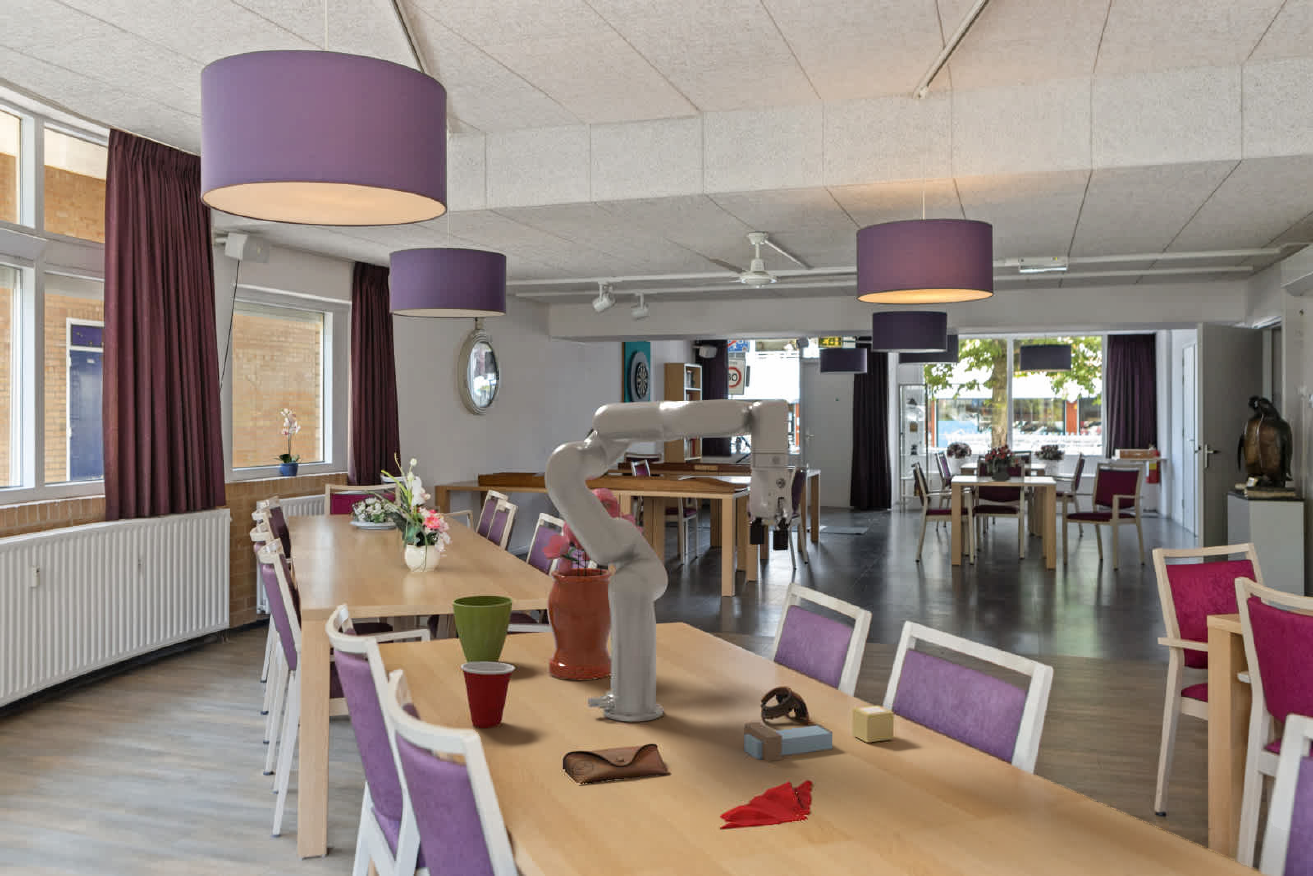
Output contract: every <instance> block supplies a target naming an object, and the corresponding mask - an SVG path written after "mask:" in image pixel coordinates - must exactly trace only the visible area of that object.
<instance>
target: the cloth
mask: <svg viewBox="0 0 1313 876" xmlns="http://www.w3.org/2000/svg"><path fill="white" fill-rule="evenodd" d="M812 786H813V781H811V780H806V781H804V782H803V783H801V784H800V785H798V786H796V787H794V788H793V785H792V782H791V781H790V780H789V781H787V782H785V783H782V784H780V785H777V786H774V787H771V788H769V789H767V790H766V791H764V792H763V794H762V795H756V796H754V797H753V798H752V799H751V800H749V801H748V803H746V804H743V805H741V804H740V805H738V806H737V805H736V806H735V807H733V808H731V809H729V810H727V811H725V812H724V813H721V814H720V816H719V818H720V819H722V820H723V819H724V820H725V821H724V820H723V821H724V822H725V823H726V824H724V825H722V826H721V827H719V829H721V830H726V829H739V828H751V827H754V828H755V827H764V826H775V825H774V824H778V825H782V824H788V822H790V823H795V822H794V821H799V820H800V821H799V822H802V821H801V820H804V821H806V820H805V819H807V820H808V817H807V816H804V815H808V816H810V814H811V811H809V810H810V807H811V806H812V800H811V799H813V798H812V793H811V792H812ZM796 792H797V793H796ZM810 793H811V794H810ZM809 813H810V814H809ZM797 815H798V816H797ZM792 821H793V822H792ZM786 822H787V823H786Z"/></svg>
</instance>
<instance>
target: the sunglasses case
mask: <svg viewBox="0 0 1313 876" xmlns="http://www.w3.org/2000/svg"><path fill="white" fill-rule="evenodd" d="M658 749H659V748H658V745H657V744H656V743H646V744H642V745H636V746H623V747H622V746H621V747H613V748H612V747H611V748H604V749H594V750H574V751H569V752H567V753H566V754H565V755H564V757H562V758H563V759H562V770H563V769H565V772H566V773H567V774H568V775H569V776H570V777H571V778H572V779H573V780H574V781H575V782H576V783H580V784H583V783H584V784H585V783H591V784H595V783H594V782H598V783H602V782H601V781H605V782H608V781H607V780H613V781H616V780H615V779H621V780H625V779H624V778H630V779H637V778H638V777H639V778H645V777H657V776H656V775H659V776H667V775H671V774H672V773H671V772H669V771H668V769H667V766H666V764H665V763H664V761H663V759H662V756H661V753H660V751H659V750H658ZM565 772H564V773H565Z"/></svg>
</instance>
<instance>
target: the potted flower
mask: <svg viewBox="0 0 1313 876" xmlns="http://www.w3.org/2000/svg"><path fill="white" fill-rule="evenodd" d="M591 491H592V492H593V493H594V494H595V495H596V496H597V498H598V499H599V500H600V502H601V503H602V505H603V507H604V508H605V509H606V511H607V512H608V513H609V515H610V516H611V517H612V518H623V519H626V520H628V521H629V522H631V523H632V524H633V525H634V526H636V527H637V529H638V530H639V531H640V532H641V534H642V535H643V532H644V528H643V527H642V526H638V525H637V524H636V519H635V517H634V515H632V514H629V513H628V514H624V511H621V507H620V504H619V500H618V499H617V497H616V496H614V494H613V491H612V490H610V489H609V488H606V487H601V488H594V489H593V490H591ZM562 533H563V535H562V534H553V535H551V536H550V538H549V540H548V541H549V543H548V545H546V546H544V547H543V549H542V551H543V552H542V553H543V555H544V556H546V560H558V559H561V561H560V563H559V566H558V569H555V570H552V571H551V572H550V576H551V578H552V579H553V583H552V586H551V588H550V591H549V592H548V593H549V594H548V598H547V604H546V605H547V606H546V607H547V619H548V622H549V623H548V624H549V626H550V627H549V628H550V629H551V632H552V633H551V634H552V636H553V641H554V650H553V653H552V656H551V657H549V659H548V674H549V675H550V674H551V675H552V676H551V675H550V676H551V677H553V676H554V677H553V678H557V679H560V678H565V679H564V680H566V679H576V680H575V681H579V680H578V679H594V678H600V679H603V678H602V677H604V678H606V677H605V676H607V675H609V674H611V654H610V652H609V650H608V641H609V636H610V635H611V617H610V607H609V599H608V586H609V582H610V579H611V577H612V576H613V572H612V571H611V570H609V569H603V568H602V567H603V566H602V565H599V567H600V568H594V567H587V563H588V562H590V561H592V560H591V559H590V558H589V556H588V555H587V553H586V552H585V550H584V549H583V547H582V546H581V544H580V543H579V541H578V540H577V538H576V537H575V535H574V534H573V532H572V531H571V529H570V528H569V526H568V524H567V523H566V521H565V520H564V523H563V525H562ZM570 542H571V543H574V546H575V547H572V548H571V549H570V547H571V546H570ZM577 549H578V550H577ZM574 551H578V554H576V553H574ZM580 551H581V552H580ZM582 552H583V553H582ZM573 555H575V556H577V558H576V557H573ZM580 558H582V560H580ZM581 562H584V565H583V564H581ZM574 565H577V567H573V566H574ZM580 566H581V567H580ZM607 677H608V676H607ZM594 680H595V679H594Z"/></svg>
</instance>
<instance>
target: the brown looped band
mask: <svg viewBox="0 0 1313 876" xmlns="http://www.w3.org/2000/svg"><path fill="white" fill-rule="evenodd" d="M773 698H775V700H776V701H777V704H775V705H772V706H767V703H768V702H769V701H771V700H772V699H773ZM760 702H761V704H760V707H761V712H760V717H761V720H762V722H763V723H765V722H766V720H770V721H773V720H774V719H780V718H781V717H786V718H790V713H791V712H793V711H794V712H793V713H794V718H795V719H798V718H802V719H806V725H808V726H810V725H809V724H811V720H810V715H809V711H808V706H807V704H806V702H805V700H804V698H802V696H801V695H800V694H798V693H797V692H796V691H793V690H792V688H791V687H789V686H785V685H784V686H778V687H774V688H772V689H770V690H769V691H768V692H766V693H765V694H764V695H763V696H762V697H761V699H760Z"/></svg>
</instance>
